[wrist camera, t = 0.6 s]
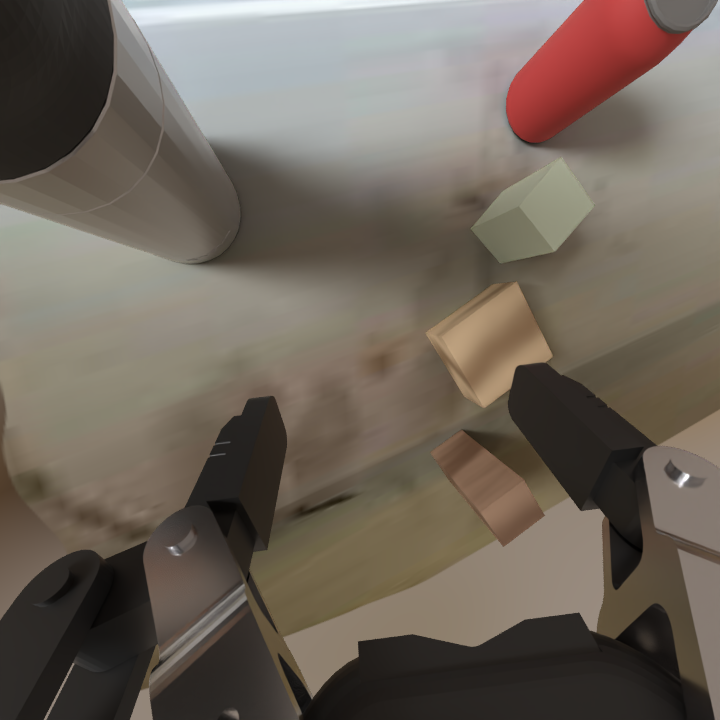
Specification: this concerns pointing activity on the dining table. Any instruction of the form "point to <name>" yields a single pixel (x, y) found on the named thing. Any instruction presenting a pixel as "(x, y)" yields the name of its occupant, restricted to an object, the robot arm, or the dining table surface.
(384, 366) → the dining table surface
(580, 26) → the beer can
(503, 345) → the oak base block
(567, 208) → the sage green block
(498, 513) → the walnut pillar
